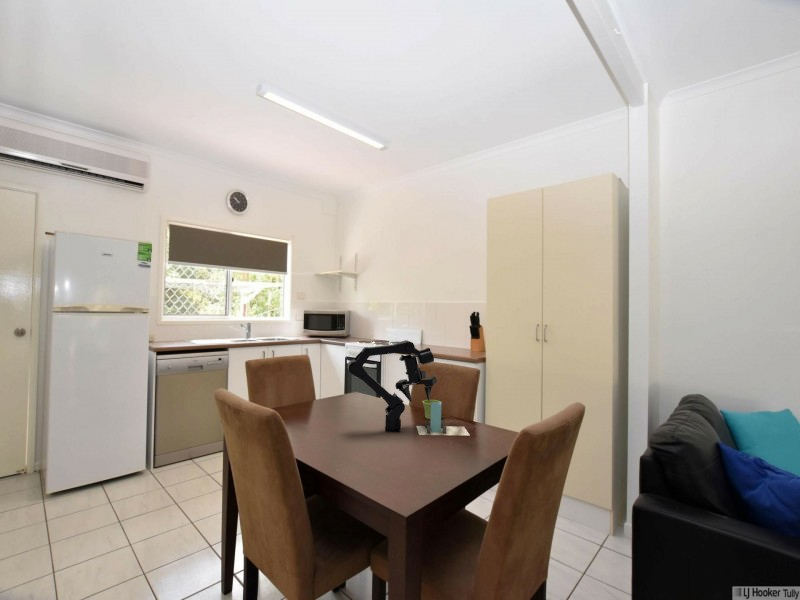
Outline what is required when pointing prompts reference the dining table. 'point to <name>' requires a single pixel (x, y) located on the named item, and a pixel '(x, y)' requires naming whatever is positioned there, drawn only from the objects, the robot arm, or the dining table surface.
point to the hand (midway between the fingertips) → (420, 401)
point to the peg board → (442, 430)
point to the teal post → (435, 417)
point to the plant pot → (428, 408)
